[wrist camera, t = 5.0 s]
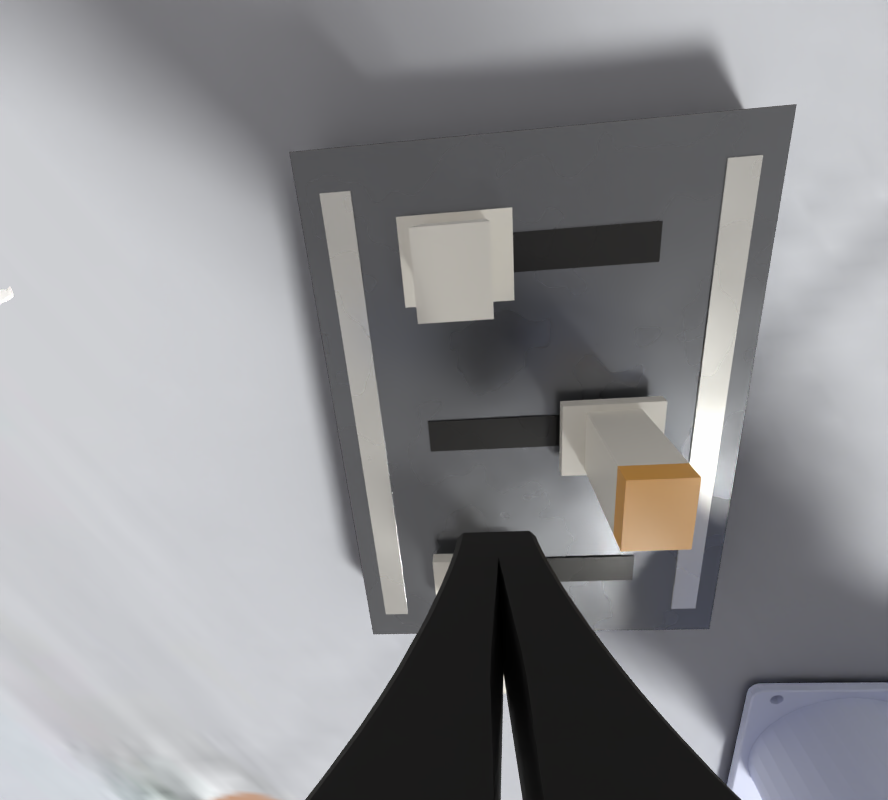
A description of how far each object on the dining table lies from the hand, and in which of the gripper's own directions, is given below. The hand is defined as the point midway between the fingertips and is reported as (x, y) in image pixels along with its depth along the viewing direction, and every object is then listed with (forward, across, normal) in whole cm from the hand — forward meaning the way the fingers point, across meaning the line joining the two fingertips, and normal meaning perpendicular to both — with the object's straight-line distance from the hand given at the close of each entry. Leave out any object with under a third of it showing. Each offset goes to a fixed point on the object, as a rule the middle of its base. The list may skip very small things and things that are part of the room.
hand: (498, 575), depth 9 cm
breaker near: (+6, +1, -5) cm, 8 cm away
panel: (+8, -1, 0) cm, 8 cm away
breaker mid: (+6, -4, 0) cm, 7 cm away
